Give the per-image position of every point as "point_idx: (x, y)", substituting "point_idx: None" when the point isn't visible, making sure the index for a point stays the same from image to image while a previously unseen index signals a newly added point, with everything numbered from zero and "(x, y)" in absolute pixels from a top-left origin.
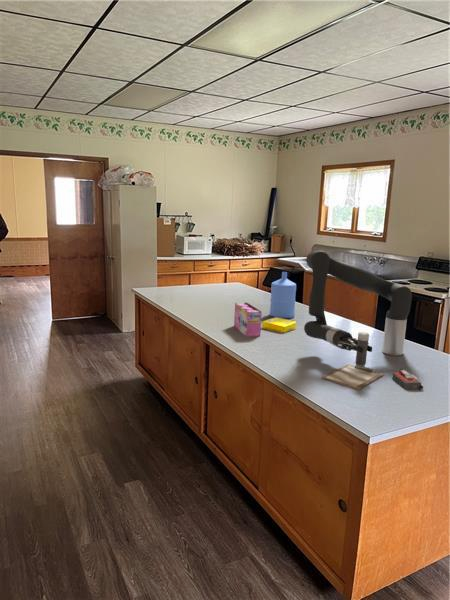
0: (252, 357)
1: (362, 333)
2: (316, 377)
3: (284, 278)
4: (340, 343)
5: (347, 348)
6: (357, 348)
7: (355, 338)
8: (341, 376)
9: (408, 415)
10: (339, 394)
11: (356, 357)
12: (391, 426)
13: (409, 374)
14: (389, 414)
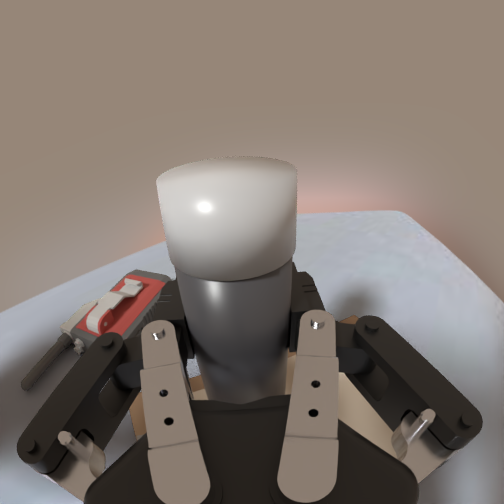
0: None
1: (238, 172)
2: (483, 434)
3: None
4: (456, 402)
5: (375, 381)
6: (316, 294)
7: (151, 455)
8: (377, 423)
9: (299, 224)
10: (426, 304)
11: (285, 387)
12: (356, 213)
13: (112, 291)
14: (337, 230)
